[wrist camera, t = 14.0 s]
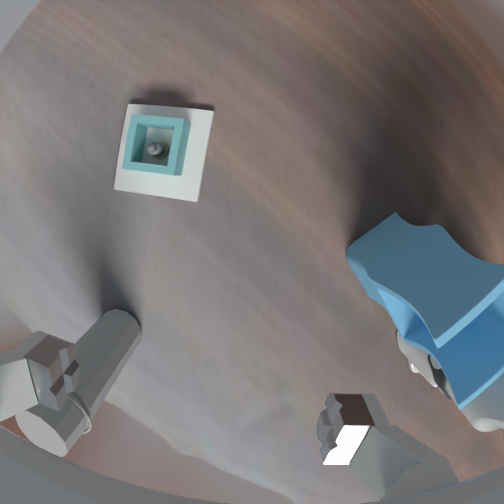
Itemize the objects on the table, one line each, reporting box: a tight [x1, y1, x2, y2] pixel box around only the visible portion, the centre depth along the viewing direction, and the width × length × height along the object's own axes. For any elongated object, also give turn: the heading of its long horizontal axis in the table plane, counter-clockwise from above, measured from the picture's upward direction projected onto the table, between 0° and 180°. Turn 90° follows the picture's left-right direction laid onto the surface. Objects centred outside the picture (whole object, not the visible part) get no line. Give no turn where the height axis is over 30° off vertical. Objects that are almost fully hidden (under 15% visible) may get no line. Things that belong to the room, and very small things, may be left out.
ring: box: [122, 115, 191, 176], centre depth 35 cm, size 7×7×4 cm
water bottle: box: [15, 309, 141, 457], centre depth 33 cm, size 9×8×25 cm
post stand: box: [114, 104, 215, 202], centre depth 36 cm, size 12×12×5 cm
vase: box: [346, 212, 504, 409], centre depth 30 cm, size 10×10×25 cm
